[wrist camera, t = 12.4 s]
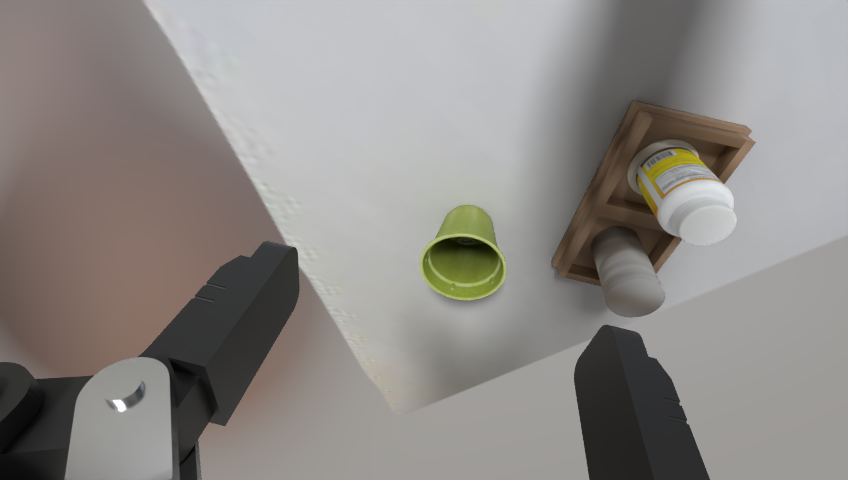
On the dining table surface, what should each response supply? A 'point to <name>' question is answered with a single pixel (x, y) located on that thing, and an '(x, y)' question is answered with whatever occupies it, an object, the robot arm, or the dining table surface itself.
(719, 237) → the supplement bottle
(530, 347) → the dining table surface
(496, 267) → the plant pot
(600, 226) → the caddy
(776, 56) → the dining table surface
